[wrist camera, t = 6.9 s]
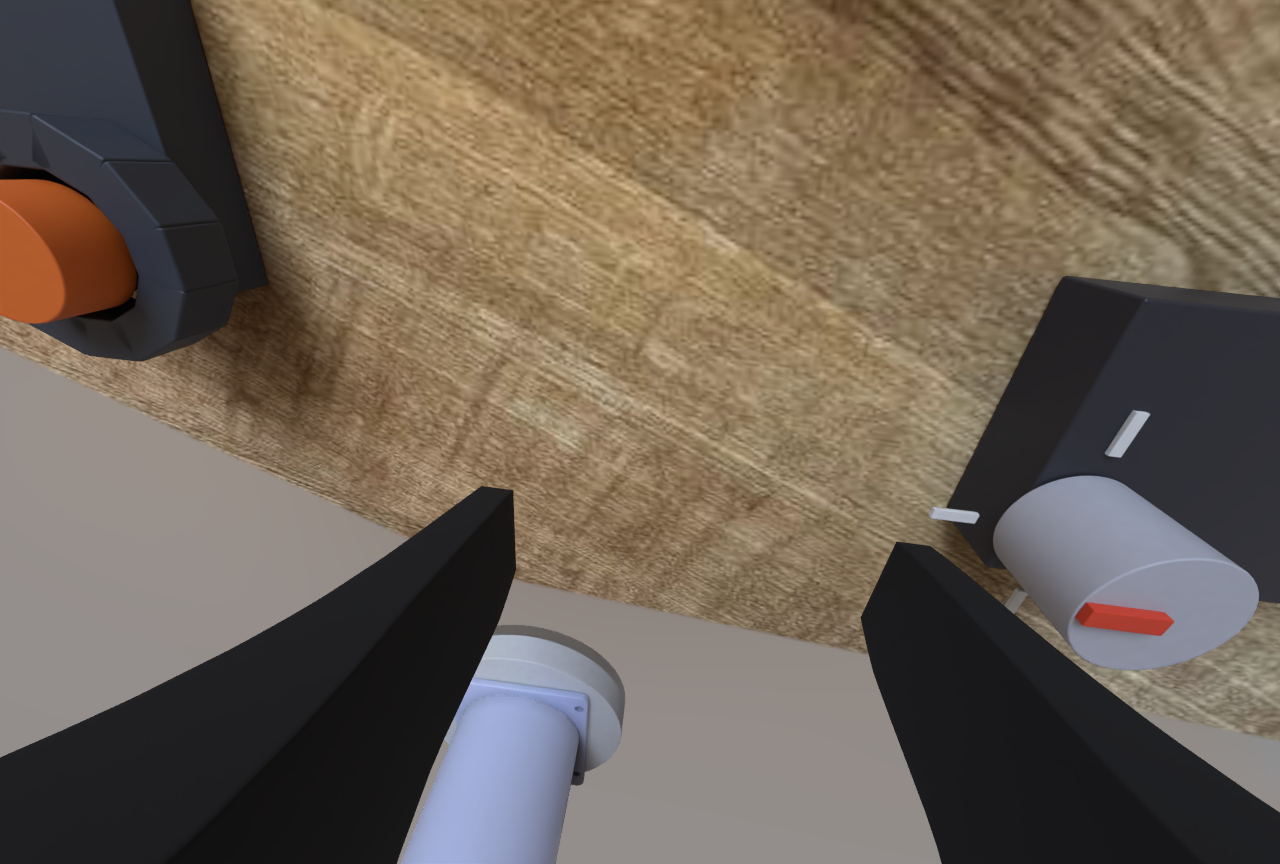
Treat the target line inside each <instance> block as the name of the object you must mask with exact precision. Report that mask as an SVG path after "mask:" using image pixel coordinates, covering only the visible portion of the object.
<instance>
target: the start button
mask: <svg viewBox="0 0 1280 864" xmlns="http://www.w3.org/2000/svg"><path fill="white" fill-rule="evenodd" d="M136 285H137V270H136V267H135V265H134V262H133V260H132V257H131V255H130V252H129V250H128V247H127V245H126V243H125V240H124V238H123V236H122V234H121V233H120V232H119V231H118V230H117V229H116V228H115V226H114V225H113V224H112V223H111V222H110V221H109V220H108V218H107V217H106V216H105V215H104V214H103V213H102V212H101V210H100V209H99V208H98V207H97V206H96V205H95V204H93V203H92V202H91V201H90V200H88V199H87V198H86V197H84V196H83V195H81V194H80V193H78V192H76V191H74V190H72V189H71V188H68V187H66V186H64V185H61V184H58V183H55V182H52V181H47V180H38V179H23V180H0V315H2V316H4V317H7V318H9V319H12V320H16V321H19V322H24V323H30V324H43V323H48V322H53V321H57V320H61V319H66V318H70V317H74V316H78V315H83V314H87V313H91V312H95V311H100V310H104V309H108V308H113V307H116V306H120V305H122V304H124V303H125V302H127V301H128V300H129V299H130V298H131V297H132V295H133V294H134V291H135V289H136Z"/></svg>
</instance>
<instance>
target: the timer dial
mask: <svg viewBox="0 0 1280 864" xmlns="http://www.w3.org/2000/svg"><path fill="white" fill-rule="evenodd" d="M993 545H994V549H995V553H996V555H997V556H998V558H999V559H1000V561H1001V562H1002V563H1003V564H1004V565H1005V567H1006V568H1007V569H1008V570H1009V572H1010V573H1011V574H1012V575H1013V577H1014V578H1015V579H1016V580H1017V582H1018V583H1019V584H1020V585H1021V586H1022V588H1023V589H1024V590H1025V591H1026V593H1027V594H1028V595H1029V596H1030V598H1031V599H1032V600H1033V601H1034V602H1035V604H1036V605H1037V606H1038V607H1039V609H1040V610H1041V611H1042V612H1043V614H1044V615H1045V616H1046V617H1047V619H1048V620H1049V621H1050V622H1051V623H1052V625H1053V626H1054V627H1055V628H1056V630H1057V631H1058V632H1059V633H1060V635H1061V636H1062V637H1063V638H1064V639H1065V641H1066V642H1067V643H1068V644H1069V646H1070V647H1071V648H1072V649H1073V651H1074V652H1075V653H1076V654H1078V655H1079V656H1080V657H1081V658H1083V659H1085V660H1086V661H1088V662H1090V663H1093V664H1095V665H1098V666H1102V667H1105V668H1111V669H1119V670H1144V669H1153V668H1160V667H1165V666H1170V665H1173V664H1177V663H1181V662H1184V661H1187V660H1190V659H1193V658H1195V657H1198V656H1200V655H1202V654H1205V653H1207V652H1209V651H1211V650H1213V649H1215V648H1216V647H1218V646H1220V645H1221V644H1223V643H1225V642H1226V641H1228V640H1229V639H1230V638H1232V637H1233V636H1234V635H1236V634H1237V633H1238V632H1239V631H1240V630H1241V629H1242V628H1243V627H1244V626H1245V625H1246V624H1247V623H1248V622H1249V620H1250V619H1251V617H1252V616H1253V614H1254V612H1255V610H1256V608H1257V605H1258V601H1259V591H1258V587H1257V584H1256V583H1255V581H1254V579H1253V578H1252V576H1251V575H1250V574H1249V573H1248V572H1247V571H1245V570H1244V569H1242V568H1241V567H1240V566H1238V565H1237V564H1235V563H1234V562H1232V561H1231V560H1230V559H1228V558H1227V557H1225V556H1224V555H1223V554H1221V553H1220V552H1218V551H1217V550H1216V549H1214V548H1213V547H1211V546H1210V545H1209V544H1207V543H1206V542H1204V541H1203V540H1202V539H1200V538H1199V537H1197V536H1196V535H1195V534H1193V533H1192V532H1190V531H1189V530H1187V529H1186V528H1185V527H1183V526H1182V525H1180V524H1179V523H1178V522H1176V521H1175V520H1173V519H1172V518H1171V517H1169V516H1168V515H1166V514H1165V513H1164V512H1162V511H1161V510H1159V509H1158V508H1157V507H1155V506H1154V505H1152V504H1151V503H1150V502H1148V501H1147V500H1145V499H1144V498H1143V497H1141V496H1140V495H1138V494H1137V493H1135V492H1134V491H1133V490H1131V489H1130V488H1128V487H1127V486H1126V485H1124V484H1122V483H1120V482H1118V481H1116V480H1113V479H1110V478H1106V477H1100V476H1075V477H1068V478H1064V479H1059V480H1056V481H1053V482H1050V483H1047V484H1045V485H1042V486H1040V487H1038V488H1036V489H1034V490H1032V491H1030V492H1029V493H1027V494H1025V495H1024V496H1022V497H1021V498H1020V499H1018V500H1017V501H1016V502H1014V503H1013V504H1012V505H1011V506H1010V507H1009V508H1008V509H1007V510H1006V512H1005V513H1004V514H1003V515H1002V517H1001V518H1000V520H999V522H998V524H997V526H996V528H995V531H994V537H993Z"/></svg>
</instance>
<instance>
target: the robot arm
mask: <svg viewBox="0 0 1280 864" xmlns="http://www.w3.org/2000/svg"><path fill="white" fill-rule="evenodd" d="M515 571H516V557H515V529H514V501H513V490H507V489H499V488H492V487H484V486H481V487H480V488H478V489H477V490H476V491H474V492H473V493H471V494H470V495H469V496H467V497H466V498H464V499H463V500H462V501H460V502H459V503H458V504H456V505H455V506H454V507H452V508H451V509H450V510H448V511H447V512H446V513H444V514H443V515H442V516H440V517H439V518H438V519H436V520H435V521H433V522H432V523H431V524H429V525H428V526H427V527H425V528H424V529H423V530H421V531H420V532H418V533H417V534H416V535H414V536H413V537H411V538H410V539H409V540H407V541H406V542H404V543H403V544H402V545H400V546H399V547H398V548H396V549H395V550H393V551H392V552H390V553H389V554H388V555H386V556H385V557H383V558H382V559H380V560H379V561H377V562H376V563H374V564H373V565H371V566H370V567H368V568H367V569H365V570H363V571H362V572H360V573H359V574H357V575H356V576H354V577H353V578H351V579H350V580H348V581H347V582H345V583H344V584H342V585H341V586H339V587H338V588H336V589H334V590H333V591H332V592H330V593H328V594H327V595H325V596H323V597H322V598H321V599H318V600H317V601H316V602H314V603H312V604H310V605H309V606H307V607H305V608H303V609H302V610H300V611H298V612H297V613H295V614H293V615H292V616H290V617H288V618H286V619H285V620H283V621H281V622H279V623H277V624H276V625H274V626H272V627H270V628H269V629H267V630H265V631H263V632H261V633H260V634H258V635H256V636H254V637H252V638H251V639H249V640H247V641H245V642H243V643H241V644H239V645H238V646H236V647H234V648H232V649H230V650H228V651H226V652H224V653H222V654H220V655H218V656H216V657H214V658H212V659H210V660H208V661H206V662H204V663H202V664H200V665H198V666H196V667H194V668H192V669H191V670H188V671H186V672H184V673H182V674H180V675H178V676H176V677H174V678H172V679H170V680H168V681H166V682H164V683H163V684H160V685H158V686H156V687H154V688H152V689H150V690H148V691H146V692H144V693H142V694H140V695H138V696H136V697H134V698H132V699H130V700H128V701H126V702H124V703H121V704H119V705H117V706H115V707H113V708H110V709H108V710H106V711H104V712H102V713H99V714H97V715H95V716H93V717H91V718H89V719H86V720H84V721H82V722H80V723H78V724H75V725H73V726H71V727H69V728H67V729H64V730H63V731H60V732H58V733H55V734H53V735H51V736H48V737H46V738H44V739H41V740H39V741H37V742H35V743H32V744H30V745H28V746H25V747H23V748H21V749H19V750H16V751H14V752H12V753H9V754H7V755H5V756H3V757H1V758H0V864H397V861H398V858H399V855H400V852H401V850H402V847H403V844H404V841H405V838H406V836H407V833H408V830H409V828H410V825H411V822H412V819H413V817H414V814H415V811H416V809H417V806H418V803H419V800H420V797H421V795H422V792H423V790H424V787H425V784H426V781H427V779H428V776H429V773H430V770H431V768H432V766H433V763H434V761H435V759H436V756H437V754H438V752H439V749H440V747H441V744H442V742H443V740H444V738H445V736H446V734H447V731H448V729H449V727H450V725H451V723H452V721H453V719H454V717H455V720H456V726H457V728H456V731H455V733H454V736H453V738H452V740H451V743H450V745H449V748H448V750H447V752H446V755H445V757H444V760H443V762H442V765H441V767H440V769H439V772H438V774H437V777H436V779H435V782H434V784H433V786H432V789H431V791H430V794H429V796H428V798H427V801H426V803H425V806H424V808H423V810H422V813H421V815H420V818H419V820H418V822H417V825H416V827H415V830H414V832H413V834H412V837H411V840H410V842H409V844H408V847H407V849H406V851H405V854H404V856H403V859H402V861H401V863H400V864H556V859H557V854H558V849H559V843H560V838H561V833H562V827H563V822H564V817H565V812H566V807H567V801H568V796H569V790H570V786H571V785H576V786H578V785H581V784H583V781H584V775H585V759H586V743H587V727H588V710H589V697H588V696H587V695H586V694H584V693H581V692H574V691H567V690H560V689H552V688H545V687H538V686H531V685H523V684H516V683H509V682H502V681H494V680H487V679H480V678H473V676H474V674H475V672H476V670H477V667H478V665H479V663H480V661H481V659H482V657H483V655H484V652H485V650H486V648H487V646H488V644H489V642H490V639H491V637H492V635H493V633H494V631H495V629H496V626H497V624H498V622H499V620H500V616H501V614H502V611H503V608H504V605H505V602H506V599H507V596H508V593H509V590H510V587H511V584H512V581H513V578H514V575H515ZM861 621H862V626H863V631H864V635H865V640H866V645H867V649H868V653H869V657H870V661H871V665H872V669H873V673H874V675H875V678H876V681H877V684H878V687H879V689H880V692H881V695H882V697H883V700H884V703H885V706H886V709H887V711H888V714H889V717H890V719H891V722H892V725H893V727H894V730H895V733H896V735H897V738H898V741H899V743H900V746H901V749H902V751H903V754H904V757H905V759H906V762H907V764H908V767H909V769H910V772H911V775H912V778H913V780H914V783H915V785H916V788H917V791H918V794H919V796H920V799H921V801H922V804H923V807H924V809H925V812H926V815H927V818H928V821H929V824H930V827H931V830H932V833H933V836H934V839H935V842H936V845H937V848H938V851H939V855H940V859H941V862H942V864H1280V813H1279V812H1278V811H1276V810H1275V809H1274V808H1272V807H1271V806H1269V805H1268V804H1266V803H1264V802H1263V801H1261V800H1260V799H1259V798H1257V797H1256V796H1254V795H1253V794H1251V793H1250V792H1248V791H1247V790H1245V789H1244V788H1242V787H1241V786H1240V785H1238V784H1237V783H1235V782H1234V781H1233V780H1231V779H1230V778H1228V777H1227V776H1225V775H1224V774H1223V773H1221V772H1220V771H1218V770H1217V769H1215V768H1214V767H1213V766H1211V765H1210V764H1208V763H1207V762H1206V761H1204V760H1203V759H1201V758H1200V757H1198V756H1197V755H1195V754H1194V753H1193V752H1191V751H1190V750H1188V749H1187V748H1186V747H1184V746H1183V745H1181V744H1180V743H1178V742H1177V741H1176V740H1174V739H1173V738H1172V737H1170V736H1169V735H1167V734H1166V733H1165V732H1163V731H1162V730H1161V729H1159V728H1158V727H1156V726H1155V725H1154V724H1152V723H1151V722H1150V721H1148V720H1147V719H1146V718H1144V717H1143V716H1142V715H1140V714H1139V713H1138V712H1136V711H1135V710H1134V709H1133V708H1131V707H1130V706H1129V705H1127V704H1126V703H1125V702H1123V701H1122V700H1121V699H1120V698H1118V697H1117V696H1116V695H1114V694H1113V693H1112V692H1110V691H1109V690H1108V689H1107V688H1105V687H1104V686H1103V685H1101V684H1100V683H1099V682H1097V681H1096V680H1095V679H1094V678H1092V677H1091V676H1090V675H1088V674H1087V673H1086V672H1085V671H1083V670H1082V669H1081V668H1080V667H1078V666H1077V665H1076V664H1075V663H1073V662H1072V661H1071V660H1070V659H1068V658H1067V657H1066V656H1065V655H1063V654H1062V653H1061V652H1060V651H1058V650H1057V649H1056V648H1055V647H1053V646H1052V645H1051V644H1050V643H1049V642H1047V641H1046V640H1045V639H1044V638H1042V637H1041V636H1040V635H1039V634H1038V633H1036V632H1035V631H1034V630H1033V629H1031V628H1030V627H1029V626H1028V625H1027V624H1025V623H1024V622H1023V621H1022V620H1021V619H1019V618H1018V617H1017V616H1016V615H1015V614H1013V613H1012V612H1011V611H1010V610H1009V609H1007V608H1006V607H1005V606H1004V605H1003V604H1001V603H1000V602H999V601H998V600H997V599H995V598H994V597H993V596H992V595H991V594H990V593H988V592H987V591H986V590H985V589H984V588H982V587H981V586H980V585H979V584H978V583H976V582H975V581H974V580H973V579H971V578H970V577H969V576H968V575H967V574H965V573H964V572H963V571H962V570H961V569H959V568H958V567H957V566H956V565H954V564H953V563H952V562H951V561H949V560H948V559H947V558H945V557H944V556H943V555H942V554H940V553H939V552H937V551H936V550H935V549H933V548H932V547H931V546H926V545H918V544H911V543H903V542H896V544H895V546H894V548H893V550H892V552H891V555H890V557H889V559H888V561H887V563H886V565H885V567H884V569H883V571H882V574H881V576H880V578H879V580H878V582H877V584H876V586H875V588H874V591H873V593H872V595H871V597H870V599H869V601H868V603H867V605H866V607H865V610H864V612H863V614H862V616H861Z"/></svg>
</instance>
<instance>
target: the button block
mask: <svg viewBox="0 0 1280 864" xmlns="http://www.w3.org/2000/svg"><path fill="white" fill-rule="evenodd" d="M23 179H38V180H47V181H52V182H55V183H58V184H61V185H64V186H66V187H68V188H71V189H72V190H74V191H76V192H78V193H80V194H81V195H83V196H84V197H86V198H87V199H88V200H90V201H91V202H92V203H93V204H95V205H96V206H97V207H98V208H99V209H100V210H101V212H102V213H103V214H104V215H105V216H106V217H107V218H108V220H109V221H110V222H111V223H112V224H113V225H114V226H115V228H116V229H117V230H118V231H119V232H120V233H121V234H122V236H123V238H124V240H125V243H126V245H127V247H128V250H129V252H130V255H131V257H132V260H133V262H134V265H135V267H136V270H137V285H136V289H135V290H137V295H136V299H134V298H132V297H131V298H130V299H129V300H128V301H127V302H125V303H124V304H122V305H120V306H116V307H113V308H108V309H104V310H100V311H95V312H91V313H87V314H83V315H78V316H74V317H70V318H66V319H61V320H57V321H53V322H48V323H43V324H30V323H28V324H30V325H31V326H33V327H35V328H37V329H39V330H41V331H43V332H44V333H46V334H48V335H50V336H52V337H54V338H56V339H57V340H59V341H61V342H63V343H65V344H67V345H69V346H70V347H72V348H74V349H76V350H78V351H80V352H82V353H83V354H86V355H89V356H96V357H105V358H113V359H121V360H130V361H139V362H140V361H145V360H148V359H151V358H154V357H157V356H160V355H163V354H165V353H168V352H171V351H174V350H177V349H180V348H183V347H186V346H189V345H191V344H194V343H196V342H198V341H200V340H202V339H203V338H205V337H207V336H208V335H210V334H212V333H213V332H215V331H217V330H219V329H220V328H222V327H224V326H225V325H227V322H228V321H229V318H230V314H231V310H232V306H233V302H234V298H235V293H238V292H241V291H245V290H249V289H253V288H256V287H260V286H264V285H268V281H267V277H266V274H265V270H264V266H263V263H262V259H261V256H260V252H259V249H258V245H257V242H256V238H255V234H254V231H253V227H252V224H251V220H250V217H249V213H248V210H247V206H246V202H245V199H244V195H243V192H242V188H241V185H240V181H239V178H238V174H237V171H236V167H235V163H234V160H233V156H232V153H231V149H230V146H229V142H228V139H227V135H226V131H225V128H224V124H223V121H222V117H221V114H220V110H219V107H218V103H217V99H216V96H215V92H214V89H213V85H212V82H211V78H210V75H209V71H208V68H207V64H206V60H205V57H204V53H203V50H202V46H201V43H200V39H199V36H198V32H197V28H196V25H195V21H194V18H193V14H192V11H191V7H190V4H189V0H0V180H23Z"/></svg>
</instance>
